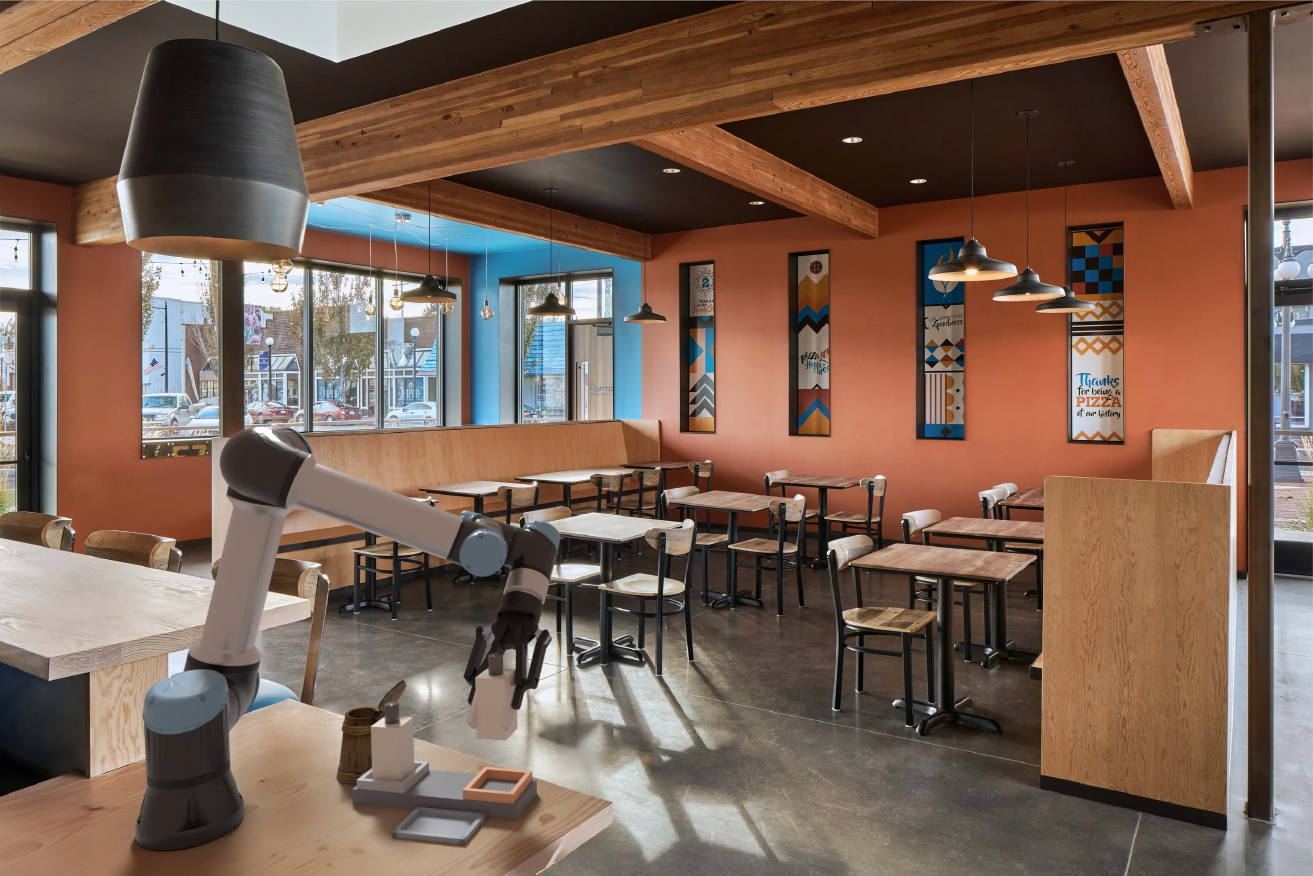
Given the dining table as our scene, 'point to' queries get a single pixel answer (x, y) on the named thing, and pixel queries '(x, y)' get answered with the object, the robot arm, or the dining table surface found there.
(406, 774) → the twin plug
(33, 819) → the dining table surface
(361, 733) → the wooden mug
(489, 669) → the bottle
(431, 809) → the tray
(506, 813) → the grey base
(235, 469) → the robot arm
